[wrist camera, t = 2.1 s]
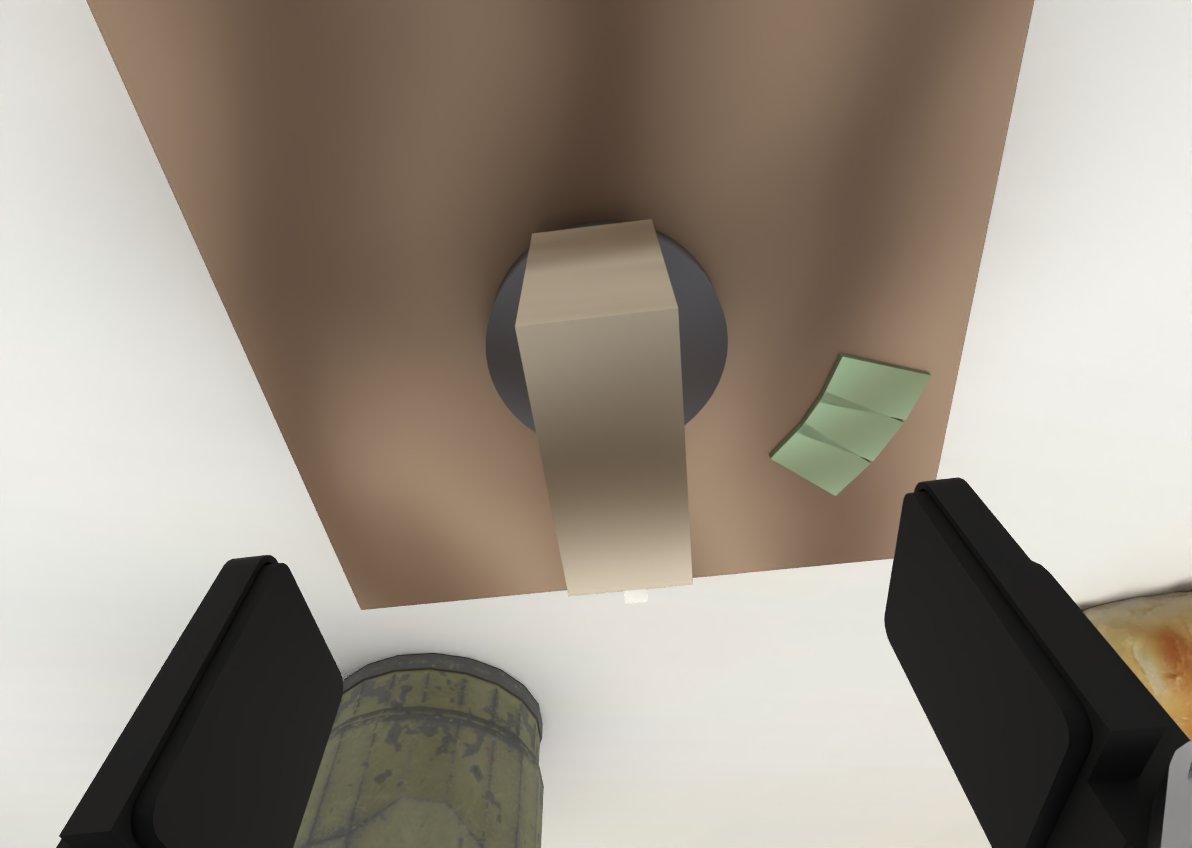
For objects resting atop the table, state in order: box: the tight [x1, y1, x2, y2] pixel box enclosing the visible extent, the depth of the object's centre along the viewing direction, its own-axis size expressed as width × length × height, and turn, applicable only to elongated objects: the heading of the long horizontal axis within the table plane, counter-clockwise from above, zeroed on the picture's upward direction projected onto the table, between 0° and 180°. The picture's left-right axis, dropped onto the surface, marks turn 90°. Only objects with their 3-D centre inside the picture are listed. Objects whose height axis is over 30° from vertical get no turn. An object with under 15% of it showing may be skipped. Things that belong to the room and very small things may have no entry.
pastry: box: [1082, 591, 1192, 741], centre depth 25 cm, size 9×7×4 cm
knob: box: [486, 219, 728, 604], centre depth 16 cm, size 12×6×6 cm, turn 7°
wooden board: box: [86, 0, 1034, 610], centre depth 17 cm, size 18×18×2 cm
